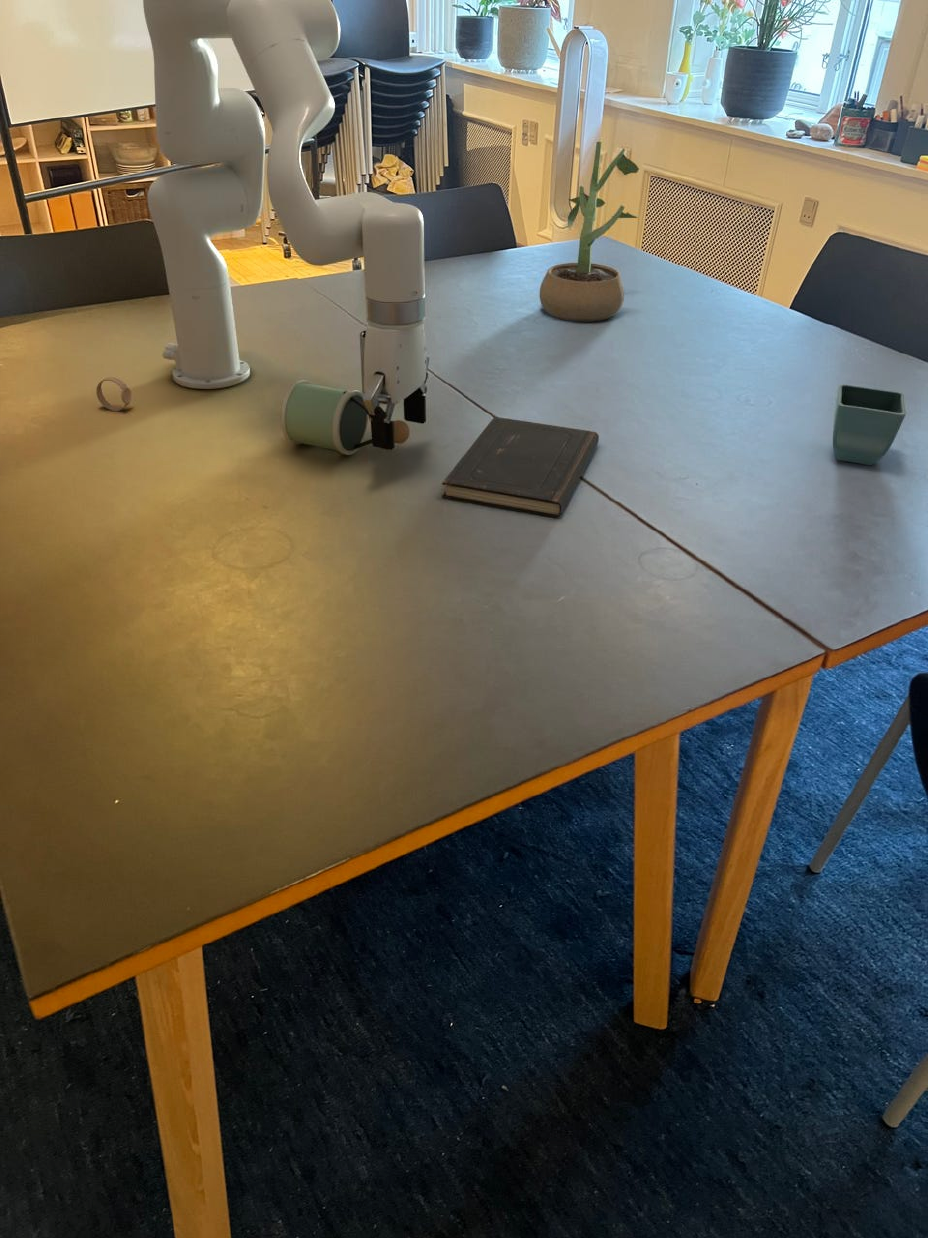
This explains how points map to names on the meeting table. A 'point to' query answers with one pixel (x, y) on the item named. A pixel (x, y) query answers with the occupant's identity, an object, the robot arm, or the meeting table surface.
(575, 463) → the hardcover book
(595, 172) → the potted plant
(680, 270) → the meeting table surface
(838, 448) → the flower pot
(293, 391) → the green hollow rimmed cylinder
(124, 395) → the brown ring
